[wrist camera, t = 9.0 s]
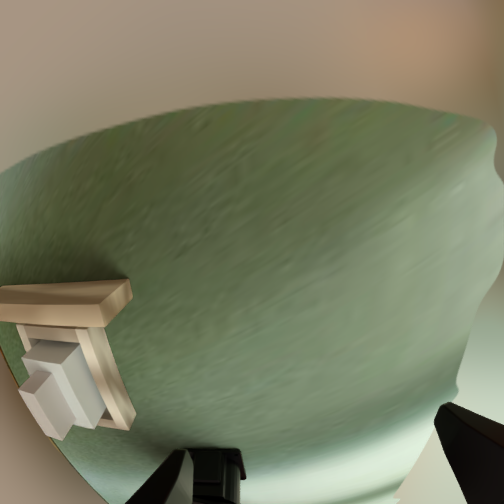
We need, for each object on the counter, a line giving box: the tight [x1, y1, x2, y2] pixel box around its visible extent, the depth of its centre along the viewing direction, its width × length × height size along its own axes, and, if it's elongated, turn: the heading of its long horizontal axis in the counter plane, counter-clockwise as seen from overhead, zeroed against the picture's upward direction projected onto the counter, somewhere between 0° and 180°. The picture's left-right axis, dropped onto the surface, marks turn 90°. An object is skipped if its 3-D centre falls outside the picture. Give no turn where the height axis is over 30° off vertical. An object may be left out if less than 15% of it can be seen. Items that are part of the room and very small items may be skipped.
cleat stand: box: [0, 279, 136, 431], centre depth 18 cm, size 14×16×5 cm
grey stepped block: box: [18, 339, 107, 441], centre depth 17 cm, size 7×5×8 cm
